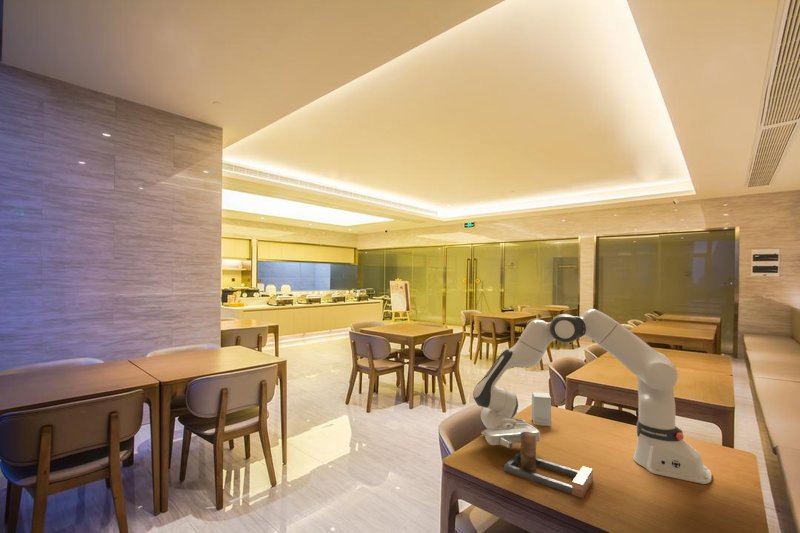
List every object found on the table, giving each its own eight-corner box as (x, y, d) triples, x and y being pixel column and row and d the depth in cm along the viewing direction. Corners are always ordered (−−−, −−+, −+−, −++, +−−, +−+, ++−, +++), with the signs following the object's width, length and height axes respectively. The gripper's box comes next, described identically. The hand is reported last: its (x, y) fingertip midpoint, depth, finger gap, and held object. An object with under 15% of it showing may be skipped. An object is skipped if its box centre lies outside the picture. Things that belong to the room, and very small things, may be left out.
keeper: (537, 469, 134) (538, 434, 134) (532, 475, 130) (532, 439, 130) (523, 464, 137) (523, 430, 137) (518, 470, 133) (518, 435, 133)
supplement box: (551, 426, 172) (551, 397, 172) (533, 425, 173) (534, 396, 173) (548, 420, 179) (548, 392, 179) (531, 419, 180) (531, 391, 181)
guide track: (592, 481, 126) (592, 468, 126) (582, 498, 116) (582, 484, 116) (518, 457, 142) (518, 446, 142) (504, 471, 132) (504, 459, 132)
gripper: (479, 422, 149) (495, 437, 135) (528, 419, 153) (548, 433, 139) (479, 439, 149) (495, 455, 135) (528, 435, 153) (548, 451, 139)
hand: (522, 444), depth 137 cm, fingers open, 8 cm apart
